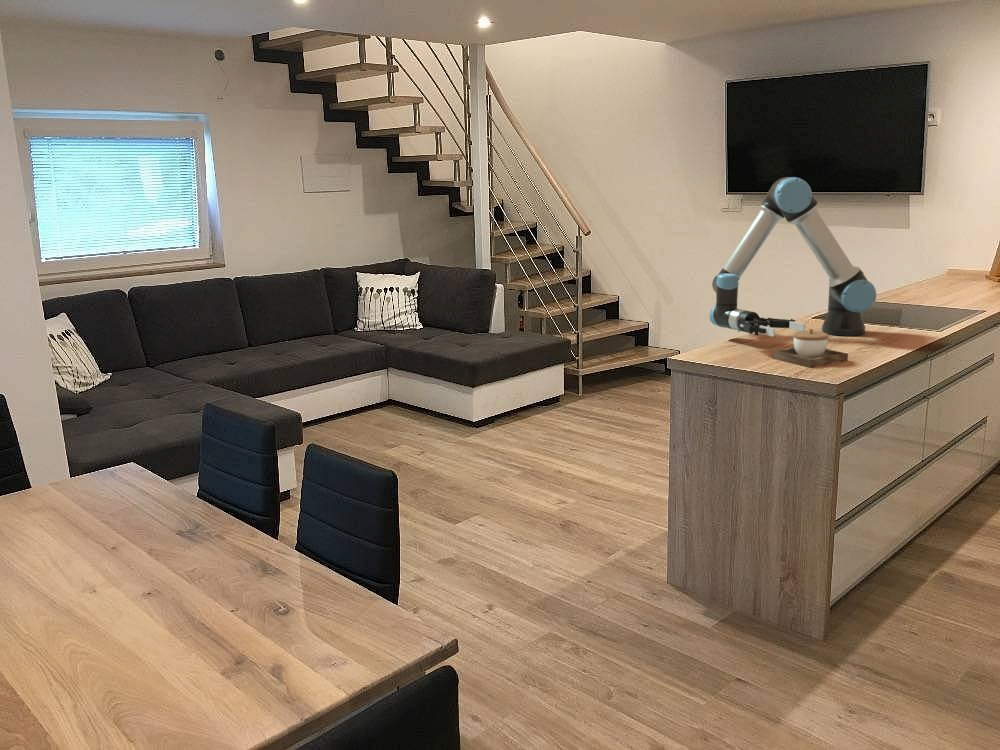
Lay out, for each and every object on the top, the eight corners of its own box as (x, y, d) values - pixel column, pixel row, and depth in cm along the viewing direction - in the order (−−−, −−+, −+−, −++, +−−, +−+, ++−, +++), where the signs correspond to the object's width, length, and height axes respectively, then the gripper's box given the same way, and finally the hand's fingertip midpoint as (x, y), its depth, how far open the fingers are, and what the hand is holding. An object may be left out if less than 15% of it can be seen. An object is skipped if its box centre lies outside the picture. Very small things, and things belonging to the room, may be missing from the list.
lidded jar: (829, 361, 279) (831, 332, 277) (794, 360, 281) (795, 332, 279) (824, 354, 289) (825, 326, 287) (790, 353, 291) (791, 325, 289)
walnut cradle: (808, 352, 296) (809, 345, 295) (847, 361, 282) (848, 353, 281) (772, 358, 289) (772, 350, 288) (810, 367, 275) (810, 360, 274)
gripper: (770, 327, 316) (816, 337, 298) (717, 335, 305) (760, 345, 287) (771, 307, 315) (817, 315, 296) (717, 314, 304) (761, 323, 285)
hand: (789, 330), depth 292 cm, fingers open, 13 cm apart
